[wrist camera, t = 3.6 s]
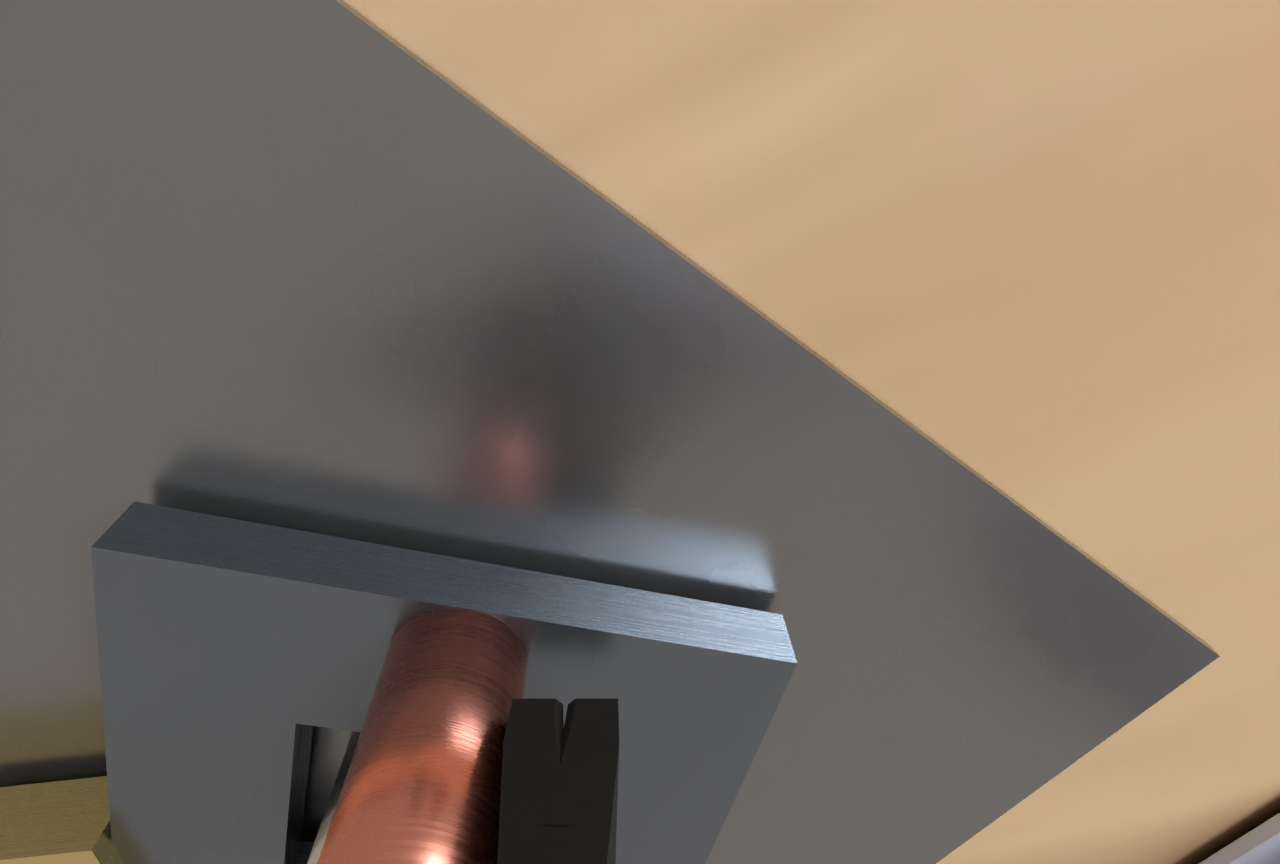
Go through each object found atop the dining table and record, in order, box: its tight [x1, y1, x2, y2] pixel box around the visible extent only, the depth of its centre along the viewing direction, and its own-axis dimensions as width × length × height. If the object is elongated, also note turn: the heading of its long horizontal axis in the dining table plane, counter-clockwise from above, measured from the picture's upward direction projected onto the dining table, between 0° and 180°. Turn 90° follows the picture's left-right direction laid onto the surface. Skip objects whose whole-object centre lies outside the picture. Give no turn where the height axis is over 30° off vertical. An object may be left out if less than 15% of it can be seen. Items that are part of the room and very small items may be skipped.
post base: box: [0, 0, 1219, 864], centre depth 15 cm, size 22×22×3 cm
